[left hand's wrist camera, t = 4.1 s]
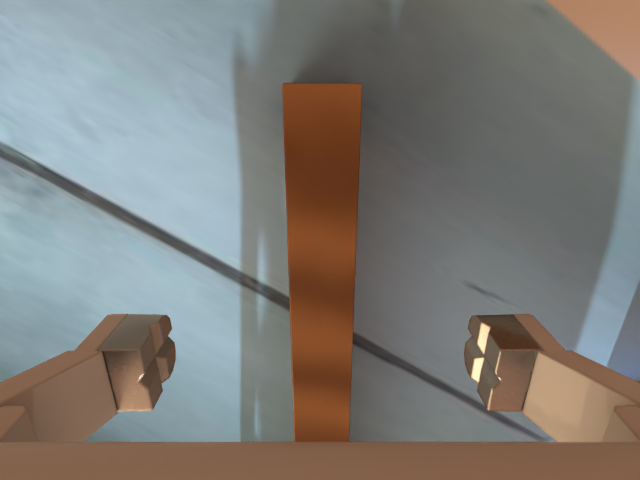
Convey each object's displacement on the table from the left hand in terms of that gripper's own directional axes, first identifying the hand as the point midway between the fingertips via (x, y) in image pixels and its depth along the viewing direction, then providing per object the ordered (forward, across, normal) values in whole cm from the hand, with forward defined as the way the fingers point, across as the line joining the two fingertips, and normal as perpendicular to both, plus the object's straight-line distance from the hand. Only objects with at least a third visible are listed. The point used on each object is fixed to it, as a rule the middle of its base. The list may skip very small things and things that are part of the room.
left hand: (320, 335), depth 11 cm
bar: (+20, 0, -30) cm, 36 cm away
